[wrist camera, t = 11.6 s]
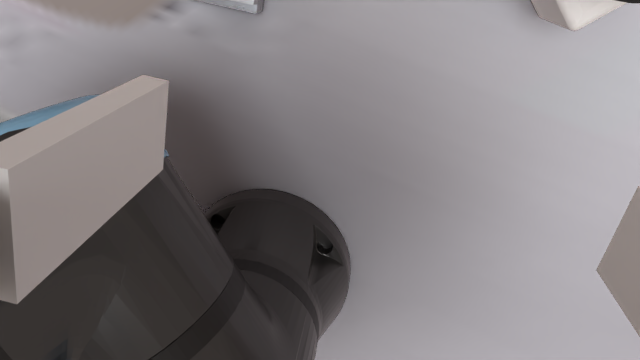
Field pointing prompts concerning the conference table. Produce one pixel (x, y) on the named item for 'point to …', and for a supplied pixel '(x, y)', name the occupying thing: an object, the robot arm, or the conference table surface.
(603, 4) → the container
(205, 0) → the rail
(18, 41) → the conference table surface
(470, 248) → the conference table surface
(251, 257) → the robot arm
